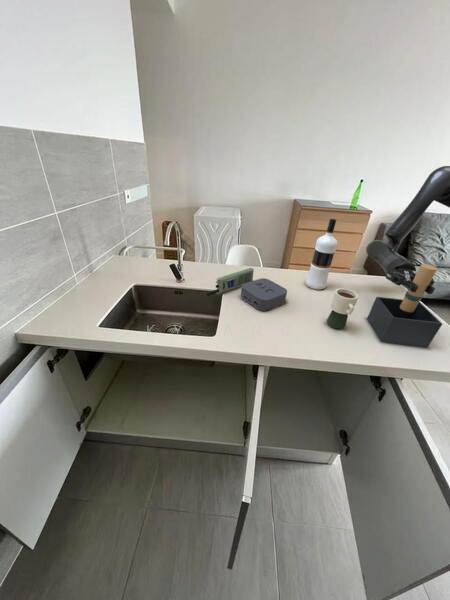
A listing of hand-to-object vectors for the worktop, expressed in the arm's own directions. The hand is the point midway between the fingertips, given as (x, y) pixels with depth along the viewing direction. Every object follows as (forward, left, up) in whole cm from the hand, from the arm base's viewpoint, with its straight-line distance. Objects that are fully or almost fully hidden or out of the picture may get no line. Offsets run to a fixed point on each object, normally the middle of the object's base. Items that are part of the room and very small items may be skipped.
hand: (423, 290), depth 73 cm
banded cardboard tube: (0, -3, -8) cm, 9 cm away
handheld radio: (+60, -21, -18) cm, 66 cm away
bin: (0, -3, -18) cm, 18 cm away
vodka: (+22, -33, -18) cm, 43 cm away
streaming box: (+46, -15, -18) cm, 52 cm away
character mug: (+20, -3, -18) cm, 27 cm away
